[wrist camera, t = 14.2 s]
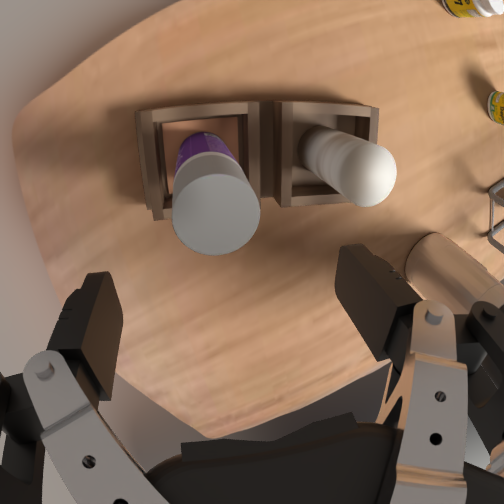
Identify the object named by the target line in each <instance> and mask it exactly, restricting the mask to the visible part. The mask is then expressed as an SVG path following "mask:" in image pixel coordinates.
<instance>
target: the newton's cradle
mask: <svg viewBox="0 0 504 504" xmlns="http://www.w3.org/2000/svg"><path fill="white" fill-rule="evenodd" d="M503 187H504V179H503V180H502V181H500V182H499V183H497V184H496V185H494V186H493V187H491V188H490V190H489V197H490V198H491V199H492V227H491V231H490V232H489V233H488V236H487V237H488V241H489V243H490V244H491V245H493V246H494V247H495V248H497V249H498V250H499V251H501V252H502V253H503V254H504V246H503V245H501V244H500V243H499V242H497V241H496V240H495V239H493V236H494V235H495V234H496V233H498V232H499V231H500V230H501V229H503V228H504V221H503V222H501V223H500V224H499V225H497V226H496V227H495V228H493V223H494V201H495V202H496V203H498V204H500V205H501V206H503V207H504V199H502V198H500V197H499V196H497V195H495V194H494V193H496V192H497V191H498V190H500V189H501V188H503Z"/></svg>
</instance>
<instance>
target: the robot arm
mask: <svg viewBox="0 0 504 504" xmlns="http://www.w3.org/2000/svg"><path fill="white" fill-rule="evenodd" d="M405 274H406V277H407V279H408V280H409V281H410V282H411V283H412V284H413V285H414V286H415V287H416V288H417V289H418V291H419V292H420V293H421V294H422V295H423V296H424V297H425V298H426V299H427V300H423V299H422V298H421V297H420V296H419V295H418V294H417V293H416V292H415V291H414V290H413V289H412V287H411V286H410V285H409V284H408V283H407V282H406V281H405V280H404V279H402V277H401V276H400V275H399V274H398V273H397V272H395V269H394V268H393V267H392V266H391V265H390V264H389V263H388V262H387V261H385V260H383V259H381V258H379V257H378V256H376V255H373V254H372V253H371V252H370V251H369V250H368V249H367V248H366V247H365V246H364V245H363V244H354V245H345V246H342V247H341V248H340V251H339V257H338V264H337V271H336V277H335V292H336V295H337V298H338V300H339V301H340V303H341V304H342V306H343V307H344V309H345V311H346V312H347V314H348V315H349V317H350V318H351V320H352V322H353V323H354V325H355V326H356V328H357V330H358V331H359V333H360V334H361V336H362V338H363V339H364V341H365V342H366V344H367V346H368V347H369V349H370V351H371V352H372V354H373V355H374V357H375V359H376V360H377V362H379V361H382V360H385V359H389V358H390V359H391V361H392V364H391V366H390V369H389V374H388V379H387V383H386V388H385V392H384V397H383V401H382V405H381V409H380V413H379V415H378V418H377V420H376V422H375V423H372V422H356V420H355V418H354V416H353V413H352V412H349V413H346V414H343V415H339V416H335V417H332V418H328V419H324V420H321V421H317V422H313V423H311V424H309V425H307V426H305V427H303V428H301V429H299V430H297V431H295V432H293V433H291V434H288V435H286V436H284V437H282V438H280V439H278V440H275V441H270V442H265V441H263V442H262V441H245V440H231V439H219V440H210V441H199V442H188V443H187V442H186V443H181V452H182V454H179V455H176V456H173V457H171V458H169V459H166V460H164V461H163V462H161V463H159V464H157V465H156V466H155V467H153V468H152V469H150V470H149V471H148V472H146V471H145V470H144V469H143V468H142V467H141V465H140V464H139V463H138V462H137V461H136V460H135V459H134V457H133V456H132V455H131V454H130V453H129V451H128V450H127V449H126V448H125V446H124V445H123V444H122V443H121V441H120V440H119V439H118V437H117V436H116V435H115V433H114V432H113V431H112V429H111V428H110V427H109V425H108V424H107V422H106V421H105V420H104V418H103V417H102V415H101V414H100V412H99V411H98V405H99V401H111V397H112V389H113V382H114V375H115V368H116V361H117V355H118V349H119V344H120V338H121V333H122V327H123V312H122V308H121V305H120V302H119V299H118V295H117V292H116V289H115V286H114V283H113V279H112V276H111V274H110V273H109V272H108V271H106V272H97V273H88V274H87V276H86V278H85V280H84V282H83V285H82V287H81V289H76V290H75V291H74V292H73V293H72V294H71V295H70V296H69V297H68V298H67V300H66V302H65V304H64V306H63V309H62V312H61V313H60V316H59V320H58V321H57V323H56V325H55V328H54V330H53V333H52V336H51V338H50V341H49V343H48V346H47V349H46V351H42V352H40V353H38V354H36V355H34V356H33V357H32V358H31V359H30V360H29V361H28V362H27V364H26V365H25V368H24V370H23V373H20V374H16V375H12V376H9V377H5V378H4V376H3V375H2V374H1V372H0V436H1V431H3V432H4V433H6V440H5V446H4V451H3V458H2V465H0V504H42V483H43V468H44V467H43V466H44V456H45V448H46V450H47V452H48V454H49V456H50V458H51V460H52V462H53V464H54V465H55V467H56V469H57V471H58V473H59V474H60V476H61V478H62V480H63V482H64V483H65V485H66V487H67V488H68V490H69V491H70V493H71V495H72V496H73V498H74V499H75V501H76V503H77V504H504V285H502V284H501V283H500V282H499V281H498V280H497V279H496V278H495V277H493V276H492V275H491V274H490V273H489V272H488V271H487V269H486V268H485V267H484V266H483V265H482V264H480V263H479V262H478V261H477V260H476V259H474V258H473V257H472V256H471V255H469V254H468V253H467V252H466V251H464V250H463V249H462V248H461V247H459V246H458V245H457V244H456V243H454V242H453V241H452V240H450V239H447V238H446V237H445V236H443V235H442V234H440V233H432V234H429V235H427V236H425V237H424V238H422V239H421V240H420V241H419V242H418V243H417V244H416V245H415V246H414V248H413V249H412V251H411V252H410V254H409V256H408V259H407V262H406V266H405ZM481 365H482V366H483V367H482V366H481ZM483 368H484V369H483ZM485 371H486V372H485ZM488 375H489V376H488ZM490 378H491V379H492V380H491V379H490ZM492 381H493V382H494V383H493V382H492ZM494 384H495V385H496V386H495V385H494ZM496 387H497V388H498V389H497V388H496ZM467 414H468V416H469V418H470V419H471V421H472V423H473V425H474V427H475V428H476V430H477V432H478V434H479V436H480V438H481V439H482V441H483V443H484V445H485V447H486V449H487V451H488V453H489V455H490V464H488V465H487V467H486V470H484V469H482V468H479V467H477V466H474V465H472V464H469V463H467V462H465V461H464V457H465V447H466V434H467V433H466V432H467Z"/></svg>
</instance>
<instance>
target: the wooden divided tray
mask: <svg viewBox="0 0 504 504" xmlns="http://www.w3.org/2000/svg"><path fill="white" fill-rule="evenodd" d="M135 119H136V130H137V140H138V148H139V157H140V165H141V172H142V180H143V187H144V193H145V200H146V206H147V210H151V209H152V212H153V219H154V221H156V220H164V219H172V198H173V182H174V175H175V169H176V163H177V157H178V152H179V148H180V146H181V144H182V142H183V141H184V140H185V139H186V138H187V137H188V136H190V135H191V134H194V133H196V132H210V133H213V134H215V135H217V136H218V137H220V138H221V139H222V141H223V142H224V143H225V145H226V146H227V148H228V149H229V151H230V152H231V154H232V155H233V157H234V158H235V159H236V161H237V162H238V164H239V165H240V167H241V169H242V170H243V172H244V174H245V176H246V178H247V180H248V182H249V184H250V185H251V187H252V189H253V191H254V193H255V195H256V197H257V199H258V202H259V206H260V209H261V202H260V198H267V197H274V199H275V200H276V201H277V203H278V204H279V205H280V207H294V206H307V205H321V204H336V203H353V204H355V205H357V206H361V207H370V206H374V205H376V204H378V203H380V202H381V201H383V200H384V199H385V198H386V197H387V196H388V195H389V193H390V192H391V190H392V188H393V186H394V183H395V180H396V164H395V161H394V158H393V156H392V155H391V153H390V152H389V151H388V150H387V149H385V148H384V147H382V146H379V145H377V136H378V121H379V108H375V107H372V106H367V105H359V104H349V103H336V102H320V101H294V100H253V101H227V102H211V103H198V104H187V105H178V106H169V107H161V108H154V109H147V110H140V111H136V112H135Z"/></svg>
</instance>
